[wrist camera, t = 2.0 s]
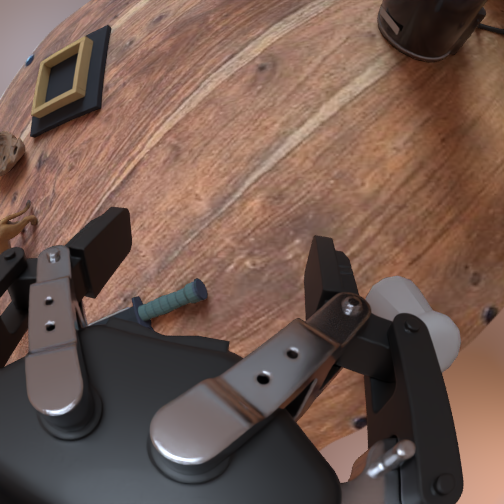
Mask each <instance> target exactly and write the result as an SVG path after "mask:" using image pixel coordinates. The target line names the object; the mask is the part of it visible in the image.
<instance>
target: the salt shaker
mask: <svg viewBox="0 0 504 504" xmlns="http://www.w3.org/2000/svg"><path fill="white" fill-rule="evenodd" d="M366 301H367V302H368V303H369V304H370V306H371V313H373V314H374V315H376V316H379V317H382V318H384V319H387V320H390V321H393V319H394V317H395V316H396V315H397V314H400V313H410V314H413V315H415V316H417V317H419V318H420V319H421V320H422V321H423V322H424V323H425V324H426V326H427V327H428V330H429V333H430V336H431V339H432V342H433V345H434V348H435V352H436V355H437V358H438V362H439V365H440V368H441V372H443V371H445V370H446V369H448V368H449V367H450V366H451V364H452V363H453V361H454V360H455V358H456V357H457V356H458V352H459V348H460V344H461V339H460V332H459V329H458V327H457V326H456V325H455V324H454V322H453V321H452V320H451V319H450V318H449V317H448V316H447V315H445V314H442V313H439V312H436V311H433V310H432V308H431V307H430V305H429V304H428V302H427V300H426V299H425V297H424V296H423V294H422V293H421V291H420V290H419V288H418V287H417V286H416V285H415V284H414V283H413V282H412V281H411V280H409V279H406V278H403V277H401V276H393V277H388V278H384V279H382V280H381V281H379V282H378V283H376V284H375V285H373V286H372V288H371V290H370V292H369V293H368V295H367V297H366Z"/></svg>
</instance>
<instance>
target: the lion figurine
mask: <svg viewBox="0 0 504 504" xmlns="http://www.w3.org/2000/svg"><path fill="white" fill-rule="evenodd" d="M30 205H31V201H30V200H28V202H27V204H26V207H25V209H24V210H22V211H20V212H18V213H15V214H12V215H9V216H7V217H5V218H3V219H2V220H0V254H1V253H2V252H4V251H6V250H7V249H10V248H11V244H10V239H12V238H14V237H15V236H17V235H18V234H19V233H20V232H22V231H23V229H24V227H25V226H26V225H27V224H28V223H29V222H31V224H32V225H35V224H36V222H37V218H36V217H35V216H33V215H31V216H27V217H24V218H23V219H22V221H16V222H11V221H9V220H11V219H13V218H16V217H18V216H20V215H22V214H23V213H25V212H26V211H27V210H28V209H29V207H30Z"/></svg>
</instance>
